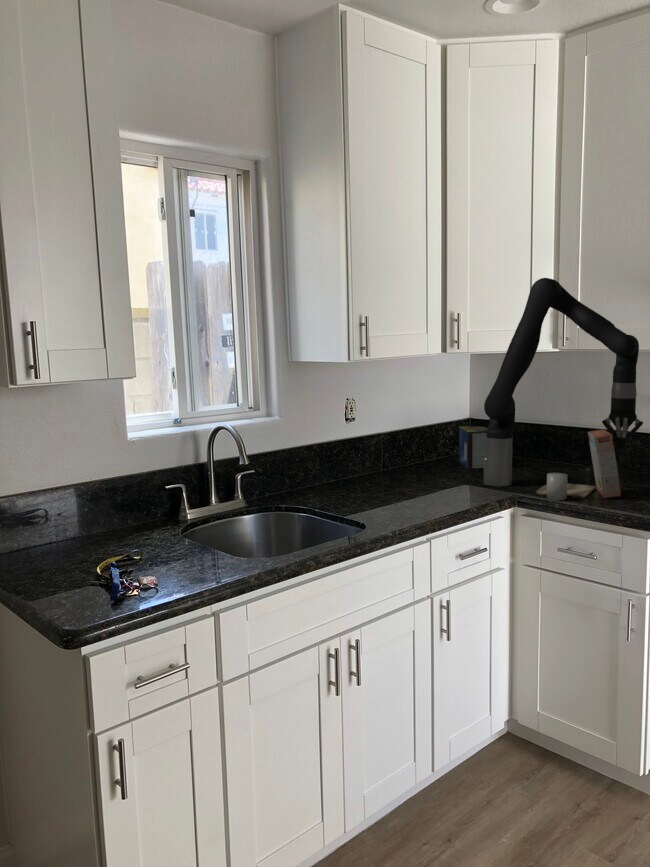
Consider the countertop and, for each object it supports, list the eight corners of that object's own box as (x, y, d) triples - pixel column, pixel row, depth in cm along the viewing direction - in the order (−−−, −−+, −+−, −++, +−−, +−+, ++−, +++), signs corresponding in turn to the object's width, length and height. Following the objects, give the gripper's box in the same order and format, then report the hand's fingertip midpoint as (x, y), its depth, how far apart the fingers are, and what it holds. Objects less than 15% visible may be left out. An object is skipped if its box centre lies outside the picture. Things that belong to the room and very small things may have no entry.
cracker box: (623, 496, 233) (612, 433, 231) (603, 499, 235) (593, 436, 233) (614, 487, 247) (605, 428, 245) (596, 490, 248) (586, 431, 246)
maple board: (535, 493, 245) (535, 491, 245) (549, 484, 260) (549, 481, 260) (584, 498, 236) (584, 496, 236) (596, 488, 252) (596, 486, 251)
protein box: (482, 462, 308) (483, 426, 305) (492, 468, 292) (493, 430, 290) (458, 462, 307) (458, 426, 305) (467, 469, 292) (467, 431, 290)
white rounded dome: (544, 499, 236) (544, 475, 235) (549, 495, 242) (550, 472, 241) (564, 501, 233) (564, 477, 232) (568, 497, 238) (569, 473, 237)
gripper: (599, 396, 235) (597, 449, 237) (643, 398, 228) (641, 452, 230) (604, 394, 241) (602, 446, 244) (647, 396, 234) (644, 448, 237)
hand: (621, 448), depth 237 cm, fingers closed
